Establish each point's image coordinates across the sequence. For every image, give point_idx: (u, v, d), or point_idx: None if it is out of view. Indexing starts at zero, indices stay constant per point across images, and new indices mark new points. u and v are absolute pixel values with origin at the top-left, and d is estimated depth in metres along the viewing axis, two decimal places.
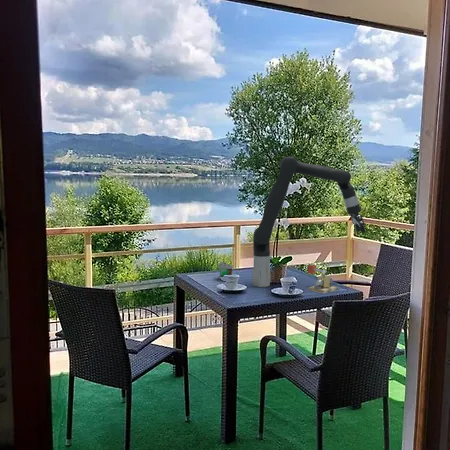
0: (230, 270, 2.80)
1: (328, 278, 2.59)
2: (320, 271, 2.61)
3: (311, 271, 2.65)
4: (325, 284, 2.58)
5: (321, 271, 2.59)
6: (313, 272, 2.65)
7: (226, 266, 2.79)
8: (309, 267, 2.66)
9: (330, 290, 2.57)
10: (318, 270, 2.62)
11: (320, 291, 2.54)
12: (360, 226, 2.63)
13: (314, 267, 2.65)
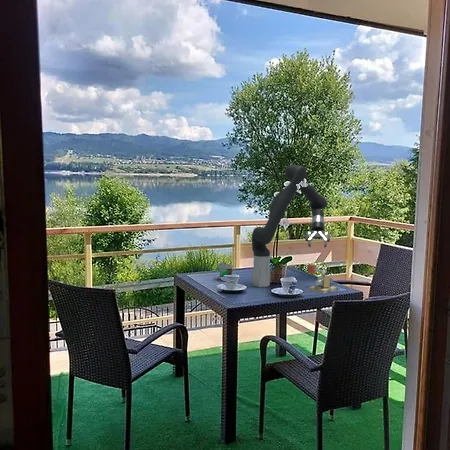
0: (230, 270, 2.80)
1: (328, 278, 2.59)
2: (320, 271, 2.61)
3: (311, 271, 2.65)
4: (325, 284, 2.58)
5: (321, 271, 2.59)
6: (313, 272, 2.65)
7: (226, 266, 2.79)
8: (309, 267, 2.66)
9: (330, 290, 2.57)
10: (318, 270, 2.62)
11: (320, 291, 2.54)
12: (326, 240, 2.78)
13: (314, 267, 2.65)
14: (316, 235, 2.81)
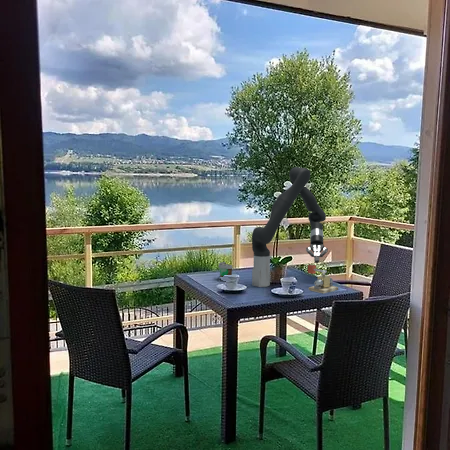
0: (230, 270, 2.80)
1: (328, 278, 2.59)
2: (320, 271, 2.61)
3: (311, 271, 2.65)
4: (325, 284, 2.58)
5: (321, 271, 2.59)
6: (313, 272, 2.65)
7: (226, 266, 2.79)
8: (309, 267, 2.66)
9: (330, 290, 2.57)
10: (318, 270, 2.62)
11: (320, 291, 2.54)
12: (319, 255, 2.73)
13: (314, 267, 2.65)
14: (317, 248, 2.77)
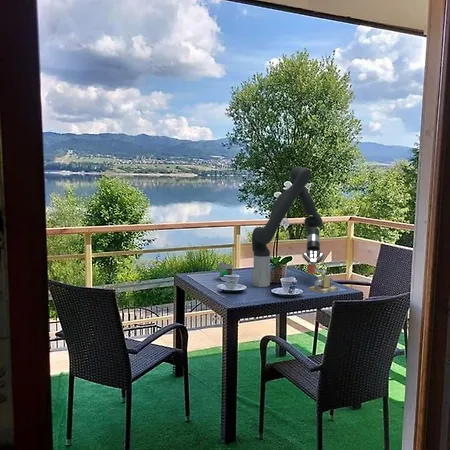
0: (230, 270, 2.80)
1: (328, 278, 2.59)
2: (320, 271, 2.61)
3: (311, 271, 2.65)
4: (325, 284, 2.58)
5: (321, 271, 2.59)
6: (313, 272, 2.65)
7: (226, 266, 2.79)
8: (309, 267, 2.66)
9: (330, 290, 2.57)
10: (318, 270, 2.62)
11: (320, 291, 2.54)
12: (315, 261, 2.70)
13: (314, 267, 2.65)
14: (313, 254, 2.73)
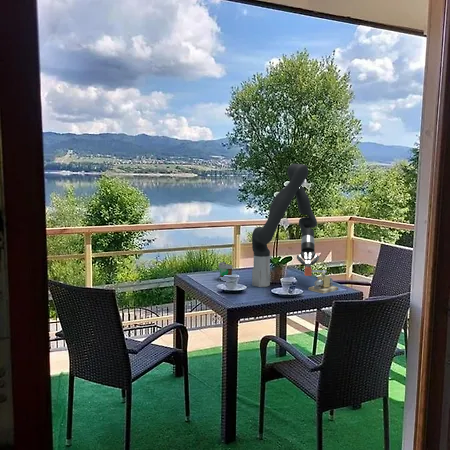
0: (230, 270, 2.80)
1: (328, 278, 2.59)
2: None
3: (309, 273, 2.59)
4: (325, 284, 2.58)
5: (323, 271, 2.58)
6: None
7: (226, 266, 2.79)
8: (307, 269, 2.59)
9: (330, 290, 2.57)
10: (318, 271, 2.59)
11: (320, 291, 2.54)
12: (310, 263, 2.64)
13: None
14: (308, 255, 2.67)
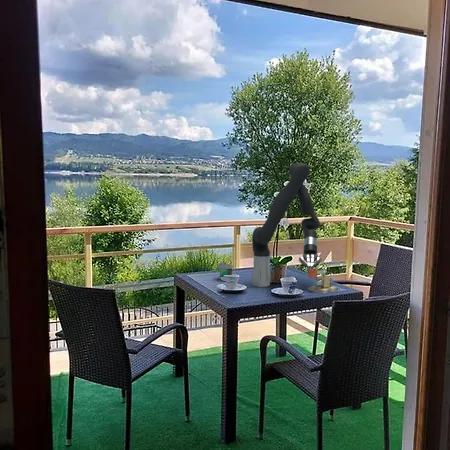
0: (230, 270, 2.80)
1: (328, 278, 2.59)
2: (322, 272, 2.58)
3: (315, 275, 2.54)
4: (325, 284, 2.58)
5: (325, 271, 2.58)
6: None
7: (226, 266, 2.79)
8: (314, 272, 2.53)
9: (330, 290, 2.57)
10: (321, 272, 2.57)
11: (320, 291, 2.54)
12: (312, 266, 2.58)
13: None
14: (310, 257, 2.61)
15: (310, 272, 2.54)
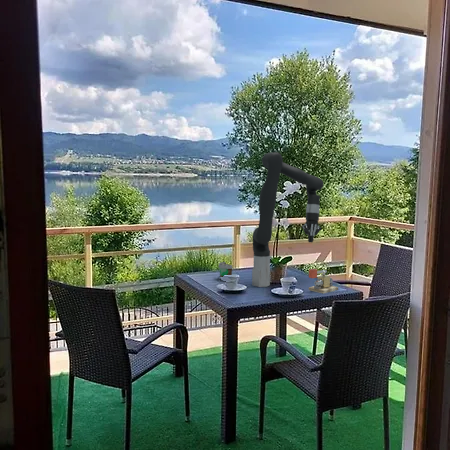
0: (230, 270, 2.80)
1: (328, 278, 2.59)
2: (322, 272, 2.58)
3: (315, 275, 2.54)
4: (325, 284, 2.58)
5: (325, 271, 2.58)
6: None
7: (226, 266, 2.79)
8: (314, 272, 2.53)
9: (330, 290, 2.57)
10: (321, 272, 2.57)
11: (320, 291, 2.54)
12: (313, 235, 2.76)
13: None
14: (313, 226, 2.75)
15: (310, 272, 2.54)
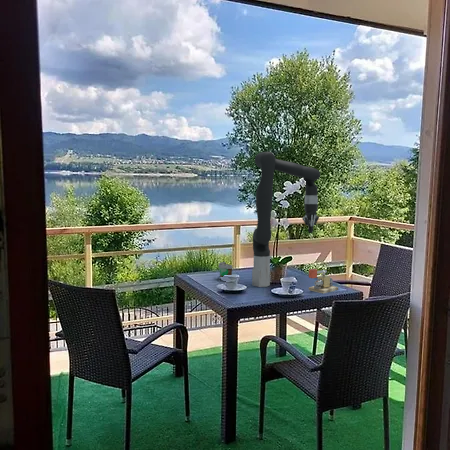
0: (230, 270, 2.80)
1: (328, 278, 2.59)
2: (322, 272, 2.58)
3: (315, 275, 2.54)
4: (325, 284, 2.58)
5: (325, 271, 2.58)
6: None
7: (226, 266, 2.79)
8: (314, 272, 2.53)
9: (330, 290, 2.57)
10: (321, 272, 2.57)
11: (320, 291, 2.54)
12: (313, 225, 2.80)
13: None
14: None
15: (310, 272, 2.54)
